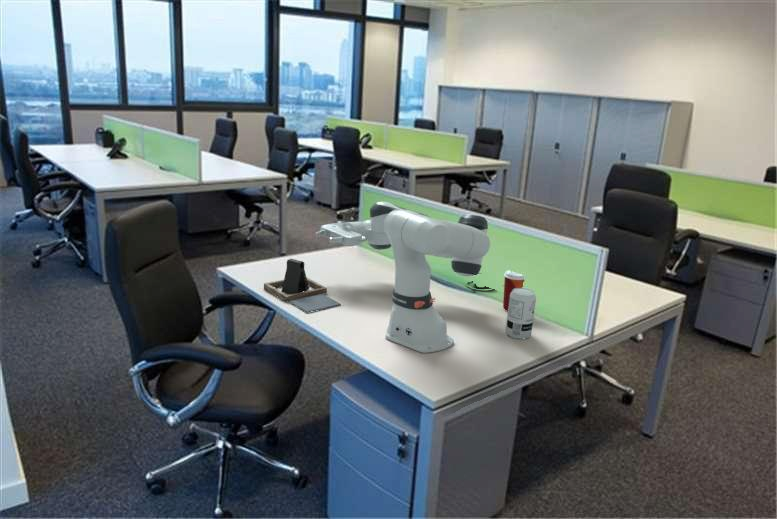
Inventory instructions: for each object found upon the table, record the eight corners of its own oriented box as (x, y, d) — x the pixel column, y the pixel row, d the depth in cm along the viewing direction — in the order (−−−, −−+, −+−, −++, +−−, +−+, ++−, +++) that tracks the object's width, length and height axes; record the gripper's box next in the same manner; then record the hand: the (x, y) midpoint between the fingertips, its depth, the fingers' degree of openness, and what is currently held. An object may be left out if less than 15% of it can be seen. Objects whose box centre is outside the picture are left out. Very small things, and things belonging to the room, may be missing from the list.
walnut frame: (327, 293, 221) (327, 288, 220) (286, 302, 210) (286, 296, 209) (303, 280, 233) (303, 275, 232) (263, 288, 222) (263, 283, 221)
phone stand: (296, 286, 226) (296, 256, 223) (309, 289, 224) (309, 259, 220) (281, 292, 219) (281, 261, 215) (294, 296, 216) (294, 264, 213)
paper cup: (515, 315, 209) (520, 277, 205) (496, 309, 214) (500, 272, 210) (525, 309, 215) (530, 272, 211) (506, 303, 220) (510, 268, 216)
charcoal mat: (340, 305, 210) (340, 303, 210) (307, 313, 201) (307, 311, 201) (322, 295, 218) (322, 293, 218) (289, 302, 210) (289, 300, 210)
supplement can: (503, 329, 197) (508, 286, 193) (528, 330, 197) (533, 288, 192) (507, 339, 189) (512, 295, 185) (533, 340, 189) (539, 297, 185)
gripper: (368, 247, 226) (338, 252, 217) (338, 235, 240) (309, 239, 232) (369, 231, 224) (339, 235, 215) (338, 220, 239) (309, 223, 230)
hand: (323, 237), depth 224 cm, fingers open, 8 cm apart
